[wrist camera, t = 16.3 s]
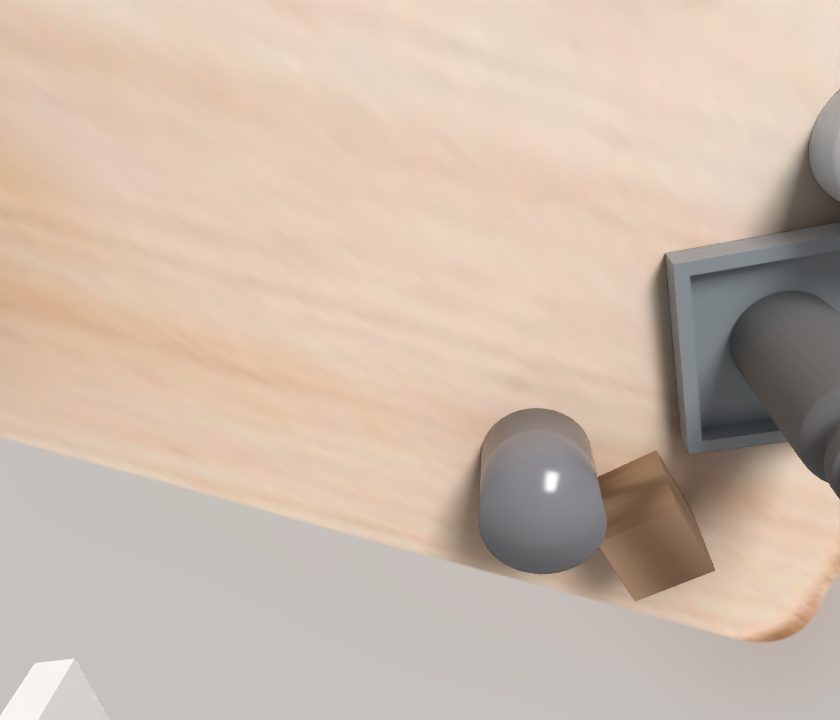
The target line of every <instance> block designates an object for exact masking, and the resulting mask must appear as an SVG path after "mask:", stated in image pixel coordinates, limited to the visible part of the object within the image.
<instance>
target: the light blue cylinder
mask: <svg viewBox="0 0 840 720" xmlns="http://www.w3.org/2000/svg"><path fill="white" fill-rule="evenodd" d="M809 161H810V166H811V170H812V172H813V175H814V177H815V179H816V181H817V183H818V184H819V185H820V187H821V188H822V189H823V190H824V191H825V192H826V193H827V194H828V195H830V196H831V197H833V198H834V199H836V200H838V201H839V202H840V89H839V90H838V91H837V92H836V93H835V94H834V95H833V96H832V97H831V98H830V100H829V101H828V102H827V104H826V105H825V106H824V108H823V109H822V111H821V113H820V114H819V116H818V118H817V120H816V122H815V124H814V127H813V130H812V133H811V138H810V143H809Z"/></svg>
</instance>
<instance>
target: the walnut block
mask: <svg viewBox="0 0 840 720" xmlns="http://www.w3.org/2000/svg"><path fill="white" fill-rule="evenodd" d="M597 478H598V482H599V486H600V491H601V495H602V500H603V504H604V509H605V513H606V520H607V526H606V533H605V536H604V539H603V541H602V543H601V545H600V546H599V548H600V550H601V551H602V553H603V554H604V556H605V557H606V559H607V560H608V562H609V563H610V565H611V566H612V567H613V569H614V570H615V572H616V573H617V575H618V576H619V578H620V579H621V581H622V582H623V584H624V585H625V587H626V588H627V590H628V591H629V593H630V594H631V596H632V597H633V599H634V600H635V601H638V600H640V599H643V598H645V597H648V596H651V595H653V594H656V593H658V592H661V591H663V590H666V589H669V588H671V587H674V586H676V585H679V584H681V583H684V582H687V581H689V580H692V579H694V578H697V577H699V576H702V575H705V574H707V573H710V572H712V571H715V568H714V566H713V563H712V561H711V558H710V556H709V553H708V551H707V548H706V545H705V543H704V540H703V538H702V535H701V533H700V530H699V528H698V525H697V523H696V520H695V518H694V515H693V513H692V510H691V508H690V506H689V504H688V502H687V501H686V499H685V497H684V496H683V494H682V492H681V491H680V489H679V487H678V486H677V484H676V482H675V481H674V479H673V477H672V476H671V474H670V472H669V471H668V469H667V467H666V466H665V464H664V462H663V460H662V459H661V457H660V455H659V454H658V452H657V450H656V451H654V452H652V453H650V454H648V455H645V456H643V457H641V458H639V459H637V460H634V461H632V462H630V463H628V464H625V465H623V466H621V467H619V468H617V469H614V470H612V471H610V472H608V473H606V474H603V475H601V476H599V477H597Z"/></svg>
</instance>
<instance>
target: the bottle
mask: <svg viewBox="0 0 840 720" xmlns="http://www.w3.org/2000/svg"><path fill="white" fill-rule="evenodd" d="M730 350H731V355H732V358H733V361H734V363H735V365H736V366H737V368H738V370H739V371H740V373H741V374H742V376H743V377H744V379H745V380H746V382H747V383H748V385H749V386H750V388H751V389H752V390H753V392H754V393H755V395H756V396H757V398H758V399H759V401H760V402H761V404H762V405H763V406H764V408H765V409H766V411H767V412H768V414H769V415H770V417H771V418H772V419H773V421H774V422H775V424H776V425H777V427H778V428H779V430H780V431H781V432H782V434H783V435H784V437H785V438H786V440H787V441H788V442H789V444H790V445H791V446H792V448H793V449H794V451H795V452H796V453H797V455H798V456H799V458H800V459H801V460H802V462H803V463H804V464H805V466H806V467H807V468H808V469H809V470H810V471H811V472H812V473H813V474H814V475H816V476H817V477H818V478H820V479H822V480H824V481H826V482H828V483H829V484H830V486H831V488H832V489H833V491H834V492H835V493H836V495H837V496H838V497H839V498H840V313H839V312H838V311H837V310H835V309H834V308H833V307H832V306H830V305H829V304H828V303H826V302H825V301H824V300H822V299H821V298H819V297H817V296H815V295H813V294H810V293H806V292H802V291H783V292H777V293H774V294H771V295H768V296H766V297H764V298H762V299H760V300H758V301H757V302H755V303H754V304H752V305H751V306H750V307H749V308H748V309H747V310H746V311H745V312H744V313H743V314H742V315H741V316H740V318H739V319H738V321H737V322H736V324H735V327H734V329H733V331H732V335H731V340H730Z"/></svg>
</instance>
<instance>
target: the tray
mask: <svg viewBox="0 0 840 720" xmlns="http://www.w3.org/2000/svg"><path fill="white" fill-rule="evenodd" d="M665 256H666V268H667V279H668V291H669V303H670V314H671V326H672V338H673V349H674V361H675V372H676V384H677V396H678V407H679V419H680V431H681V438H682V440H683V442H684V445H685V447H686V449H687V451H688V454H696V453H704V452H711V451H719V450H726V449H734V448H742V447H749V446H757V445H764V444H772V443H780V442H787V440H786V438H785V437H784V435H783V434H782V432H781V431H780V430H779V428H778V427H777V425H776V424H775V422H774V421H773V419H772V418H771V417H770V415H769V414H768V412H767V411H766V409H765V408H764V406H763V405H762V404H761V402H760V401H759V399H758V398H757V396H756V395H755V393H754V392H753V390H752V389H751V388H750V386H749V385H748V383H747V382H746V380H745V379H744V377H743V376H742V374H741V373H740V371H739V370H738V368H737V366H736V365H735V363H734V361H733V358H732V355H731V350H730V340H731V335H732V331H733V329H734V327H735V324H736V322H737V321H738V319H739V318H740V316H741V315H742V314H743V313H744V312H745V311H746V310H747V309H748V308H749V307H750V306H751V305H752V304H754V303H755V302H757V301H758V300H760V299H762V298H764V297H766V296H768V295H771V294H774V293H777V292H783V291H802V292H806V293H810V294H813V295H815V296H817V297H819V298H821V299H822V300H824V301H825V302H826V303H828V304H829V305H830V306H832V307H833V308H834V309H835V310H837V311H838V312H839V313H840V222H837V223H832V224H826V225H821V226H815V227H809V228H804V229H798V230H792V231H787V232H781V233H776V234H770V235H764V236H759V237H753V238H748V239H742V240H736V241H731V242H725V243H720V244H714V245H708V246H703V247H697V248H691V249H686V250H680V251H675V252H669V253H665Z"/></svg>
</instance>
